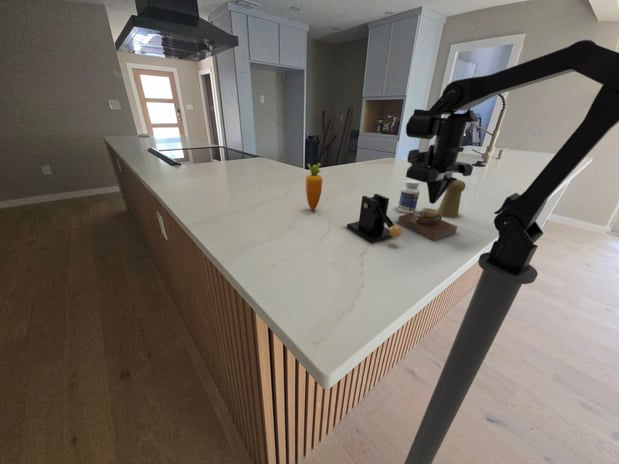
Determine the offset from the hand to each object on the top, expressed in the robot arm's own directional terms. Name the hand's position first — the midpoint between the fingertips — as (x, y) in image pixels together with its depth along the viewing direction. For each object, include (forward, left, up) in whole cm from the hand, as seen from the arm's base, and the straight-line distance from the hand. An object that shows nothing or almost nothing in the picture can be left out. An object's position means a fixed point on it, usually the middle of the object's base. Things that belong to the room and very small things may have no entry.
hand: (432, 203), depth 68 cm
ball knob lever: (+2, +16, -3) cm, 16 cm away
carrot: (+25, +22, -8) cm, 34 cm away
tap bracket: (+5, +16, -8) cm, 18 cm away
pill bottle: (+12, -6, -8) cm, 15 cm away
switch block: (0, 0, -8) cm, 8 cm away
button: (0, 0, -4) cm, 4 cm away
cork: (+4, -16, -8) cm, 18 cm away
